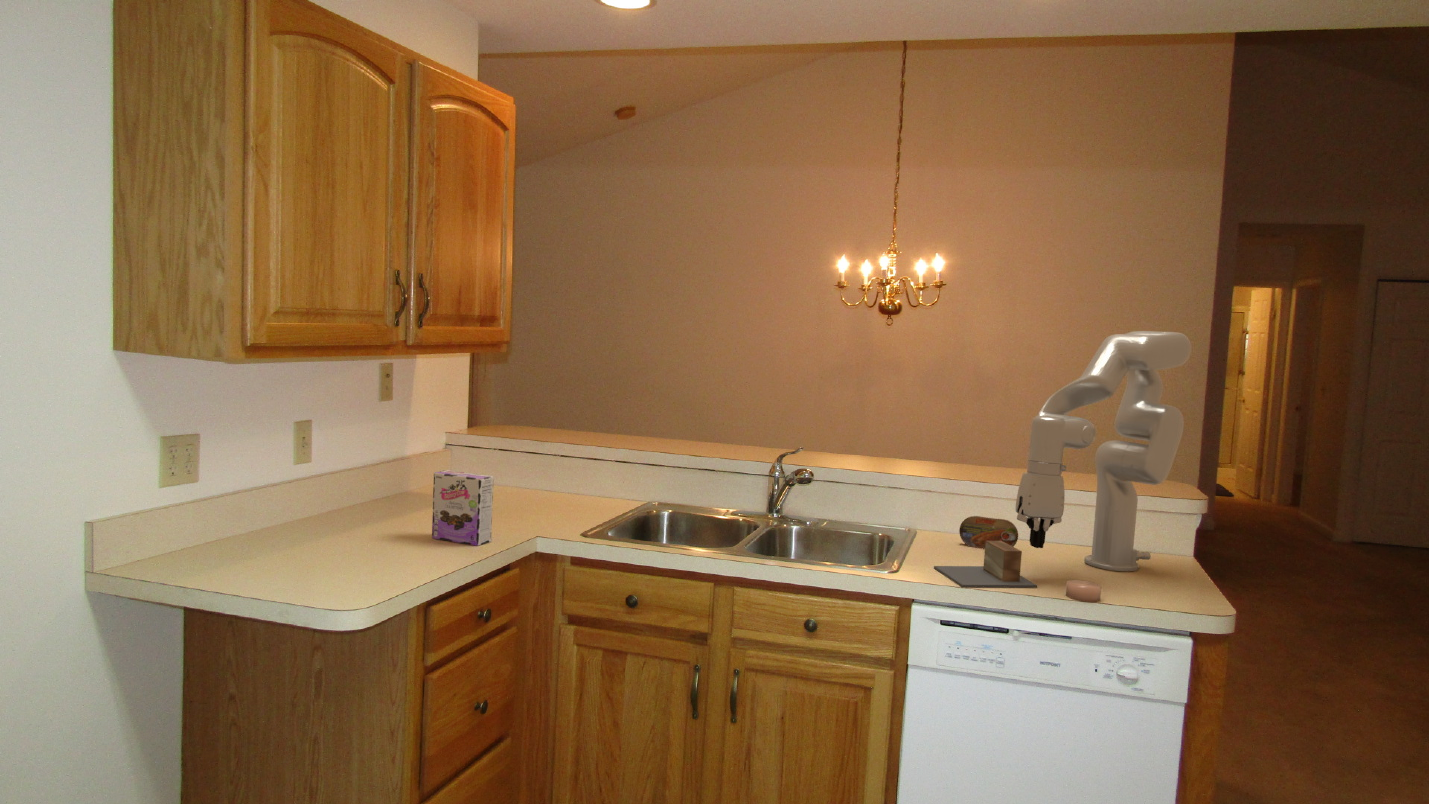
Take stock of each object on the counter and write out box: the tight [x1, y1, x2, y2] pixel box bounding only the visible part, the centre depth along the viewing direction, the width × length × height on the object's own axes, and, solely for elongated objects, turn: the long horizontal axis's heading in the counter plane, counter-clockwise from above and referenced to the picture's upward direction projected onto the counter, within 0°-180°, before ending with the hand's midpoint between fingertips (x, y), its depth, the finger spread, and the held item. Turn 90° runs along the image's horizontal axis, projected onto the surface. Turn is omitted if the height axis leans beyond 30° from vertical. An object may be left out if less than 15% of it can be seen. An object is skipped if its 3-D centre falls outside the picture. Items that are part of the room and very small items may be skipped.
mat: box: [933, 565, 1038, 589], centre depth 215 cm, size 18×16×1 cm
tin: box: [958, 515, 1019, 550], centre depth 246 cm, size 15×3×8 cm, turn 62°
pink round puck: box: [1065, 579, 1102, 603], centre depth 203 cm, size 7×7×3 cm
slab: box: [983, 541, 1023, 581], centre depth 216 cm, size 4×10×7 cm, turn 9°
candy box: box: [431, 469, 495, 547], centre depth 225 cm, size 14×6×16 cm, turn 68°
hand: (1036, 546), depth 217 cm, fingers closed
